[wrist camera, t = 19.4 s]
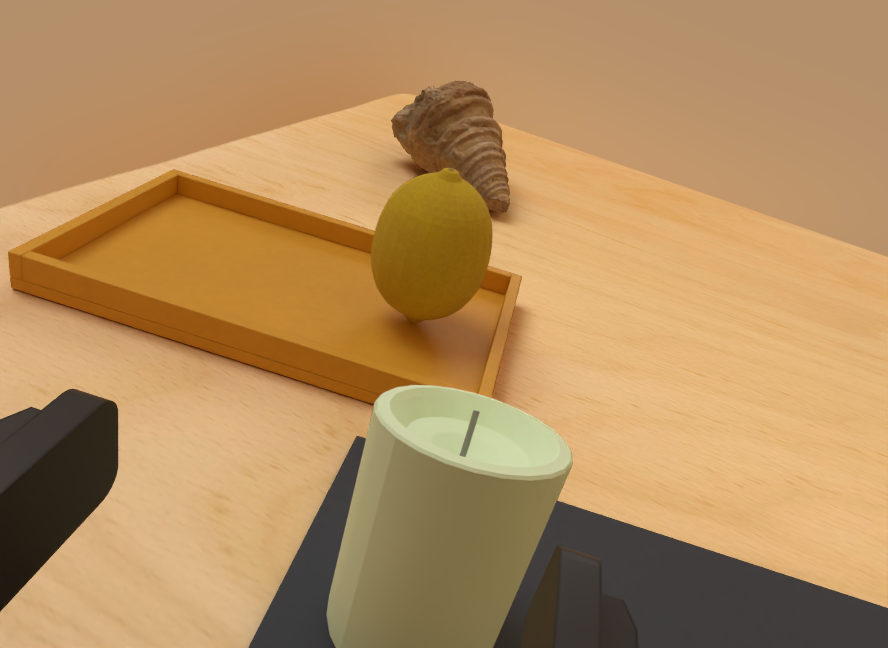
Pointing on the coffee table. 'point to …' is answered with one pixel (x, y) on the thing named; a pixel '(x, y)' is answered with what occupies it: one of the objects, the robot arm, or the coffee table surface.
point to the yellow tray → (261, 289)
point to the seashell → (457, 138)
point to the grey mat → (606, 587)
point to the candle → (442, 519)
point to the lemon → (432, 246)
